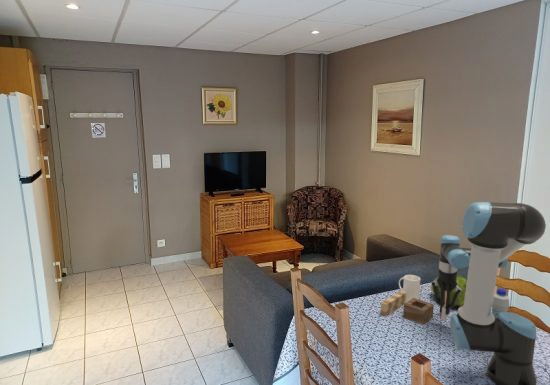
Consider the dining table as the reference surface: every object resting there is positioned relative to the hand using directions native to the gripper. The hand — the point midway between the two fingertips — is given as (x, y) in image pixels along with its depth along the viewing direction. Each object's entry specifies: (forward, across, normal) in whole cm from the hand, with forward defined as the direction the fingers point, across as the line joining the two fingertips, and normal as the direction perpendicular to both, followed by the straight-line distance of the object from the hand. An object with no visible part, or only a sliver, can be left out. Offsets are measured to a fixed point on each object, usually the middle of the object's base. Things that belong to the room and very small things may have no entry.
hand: (443, 320), depth 177 cm
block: (+3, +12, 0) cm, 12 cm away
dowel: (+3, +4, -10) cm, 11 cm away
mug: (+3, +25, -17) cm, 30 cm away
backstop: (+3, +24, 0) cm, 24 cm away
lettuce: (+3, +8, -28) cm, 29 cm away
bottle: (+3, -19, -11) cm, 22 cm away
